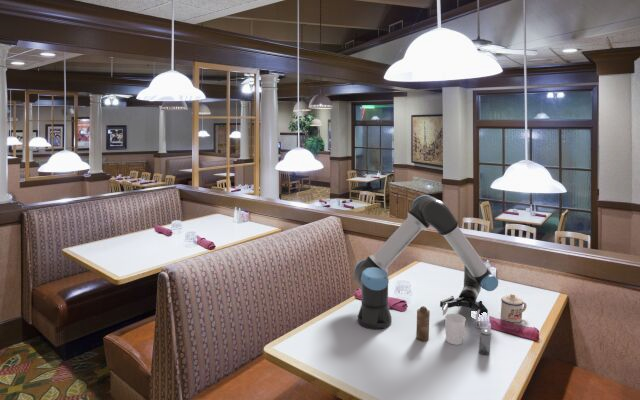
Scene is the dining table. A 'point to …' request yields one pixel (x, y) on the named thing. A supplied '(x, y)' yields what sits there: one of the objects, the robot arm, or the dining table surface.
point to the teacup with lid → (512, 308)
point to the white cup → (454, 328)
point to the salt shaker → (484, 342)
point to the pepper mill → (422, 324)
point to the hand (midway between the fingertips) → (459, 315)
